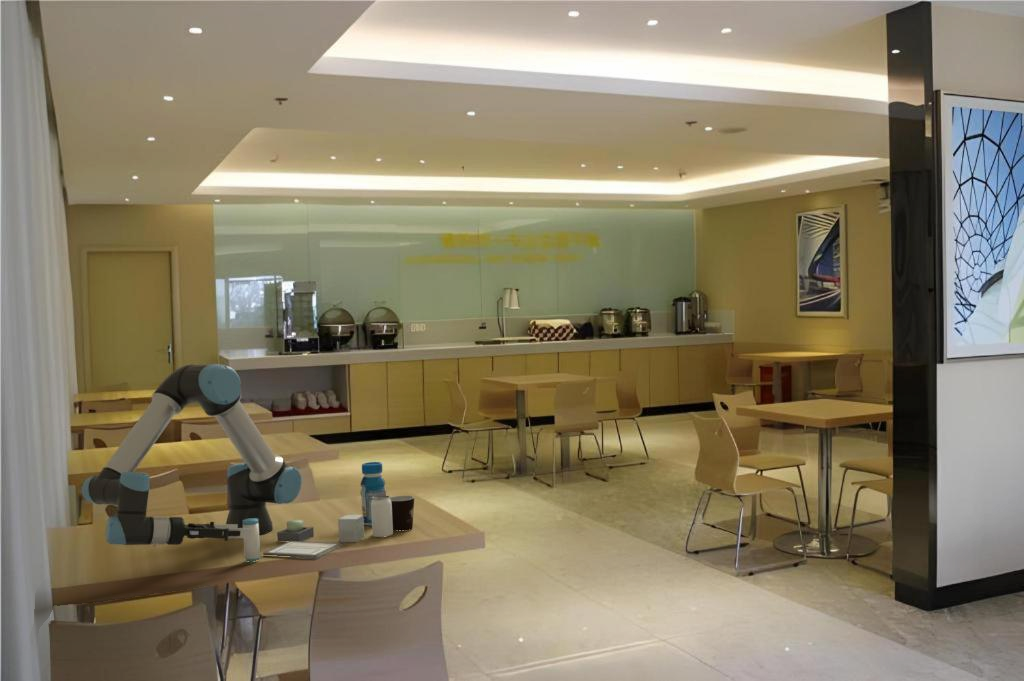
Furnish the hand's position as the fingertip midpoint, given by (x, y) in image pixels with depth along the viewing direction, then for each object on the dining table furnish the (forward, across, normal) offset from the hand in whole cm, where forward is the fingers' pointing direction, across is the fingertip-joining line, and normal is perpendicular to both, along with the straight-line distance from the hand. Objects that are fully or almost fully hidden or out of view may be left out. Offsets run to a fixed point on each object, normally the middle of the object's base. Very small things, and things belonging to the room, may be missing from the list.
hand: (243, 531), depth 265 cm
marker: (+3, 0, -8) cm, 9 cm away
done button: (+21, -16, -1) cm, 27 cm away
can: (+44, -1, -1) cm, 44 cm away
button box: (+22, -17, -4) cm, 28 cm away
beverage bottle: (+50, -19, +1) cm, 53 cm away
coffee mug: (+54, -5, +1) cm, 54 cm away
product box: (+35, -3, -3) cm, 35 cm away
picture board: (+18, 0, -6) cm, 19 cm away
